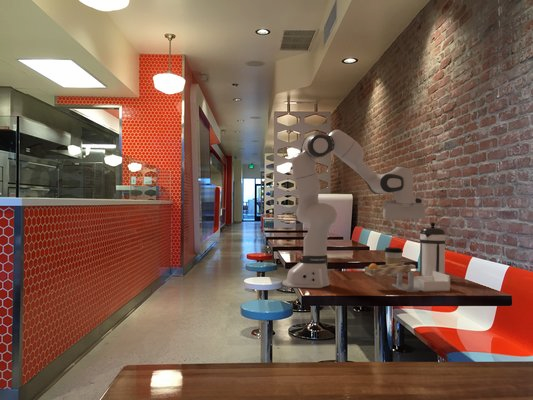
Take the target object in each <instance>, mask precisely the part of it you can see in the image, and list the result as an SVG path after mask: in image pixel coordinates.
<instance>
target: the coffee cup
mask: <svg viewBox="0 0 533 400" xmlns="http://www.w3.org/2000/svg"><path fill="white" fill-rule="evenodd" d="M403 252H404V251H403V248H401V247H385V249H384V257H385V265H388V264H396V263H402V260H403V259H402V258H403ZM386 275H387V276H388V277H392V276H393V278H394V277H396V278H397V273H394V274H386Z"/></svg>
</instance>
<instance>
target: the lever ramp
mask: <svg viewBox="0 0 533 400" xmlns="http://www.w3.org/2000/svg"><path fill="white" fill-rule="evenodd" d="M377 266H378V269H370V268H369V266H365V267H364V274H365V275H369V276H371V277H376V276H383V275H387V274H394V273H402V274H403V273H406V274H408V272H412V269H414V268H416V265H415V264H411V262H410V261H401V263H396V264H388V265H386V264H380V265H377Z"/></svg>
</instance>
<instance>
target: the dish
mask: <svg viewBox="0 0 533 400" xmlns="http://www.w3.org/2000/svg"><path fill="white" fill-rule="evenodd" d="M414 288H416V289H419V291H421V292H451V275H449V274H446V273H445V274H443V273H440V272H436V271H433V276H419V275H414Z"/></svg>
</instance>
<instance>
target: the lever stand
mask: <svg viewBox="0 0 533 400" xmlns="http://www.w3.org/2000/svg"><path fill="white" fill-rule="evenodd" d="M414 276H415V272H414V271H410V272H408V273H407V283H404V282H403V272H402V273H397V277H396V282H395V283H394V282H393V283H391V286H392V287H395V288H397V289H399V290H401V291H403V292H405V291H406V293H419V292H420V290H419V289H417V288H414Z"/></svg>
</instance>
